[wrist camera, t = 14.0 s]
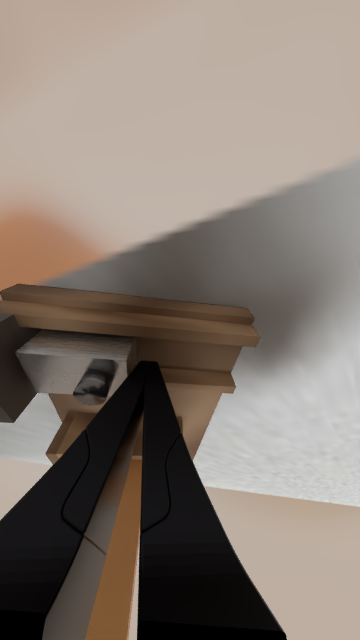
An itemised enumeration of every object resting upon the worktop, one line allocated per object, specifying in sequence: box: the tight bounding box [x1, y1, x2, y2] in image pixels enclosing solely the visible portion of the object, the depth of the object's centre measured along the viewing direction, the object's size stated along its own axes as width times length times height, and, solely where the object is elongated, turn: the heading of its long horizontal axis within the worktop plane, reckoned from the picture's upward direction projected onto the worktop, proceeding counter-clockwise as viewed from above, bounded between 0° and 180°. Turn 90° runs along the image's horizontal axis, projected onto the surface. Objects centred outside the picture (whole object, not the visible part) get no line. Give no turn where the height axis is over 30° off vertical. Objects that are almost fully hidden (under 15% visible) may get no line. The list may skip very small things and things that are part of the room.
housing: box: [0, 284, 260, 465], centre depth 11 cm, size 12×18×4 cm, turn 173°
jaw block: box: [85, 460, 142, 640], centre depth 10 cm, size 4×4×10 cm
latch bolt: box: [15, 329, 137, 406], centre depth 7 cm, size 4×2×3 cm, turn 83°
